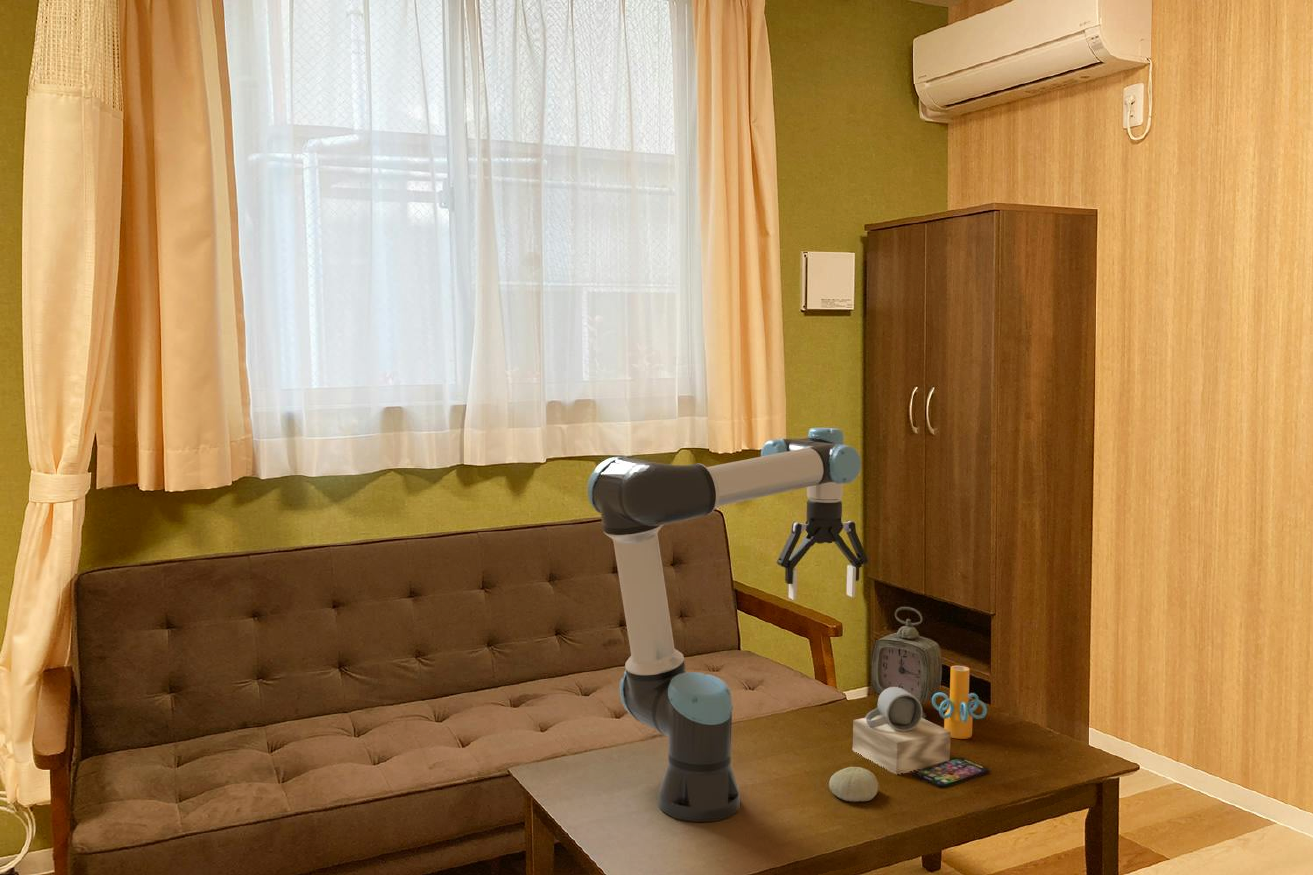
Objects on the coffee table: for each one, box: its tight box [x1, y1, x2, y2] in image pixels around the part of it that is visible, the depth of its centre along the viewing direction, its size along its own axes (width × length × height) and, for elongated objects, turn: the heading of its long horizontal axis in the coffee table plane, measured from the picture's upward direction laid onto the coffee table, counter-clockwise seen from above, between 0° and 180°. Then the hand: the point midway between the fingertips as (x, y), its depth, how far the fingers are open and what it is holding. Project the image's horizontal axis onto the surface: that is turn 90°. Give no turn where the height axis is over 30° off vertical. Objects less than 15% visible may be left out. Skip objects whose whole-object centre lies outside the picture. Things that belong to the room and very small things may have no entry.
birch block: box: [852, 714, 951, 776], centre depth 215 cm, size 14×14×7 cm
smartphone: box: [912, 757, 990, 789], centre depth 206 cm, size 8×1×15 cm
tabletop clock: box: [870, 606, 943, 720], centre depth 241 cm, size 14×9×25 cm, turn 50°
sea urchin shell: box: [828, 766, 880, 803], centre depth 196 cm, size 9×8×8 cm
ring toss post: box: [931, 665, 988, 740], centre depth 227 cm, size 12×10×15 cm
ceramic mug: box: [865, 687, 922, 731], centre depth 214 cm, size 11×8×8 cm
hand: (821, 597), depth 222 cm, fingers open, 13 cm apart
